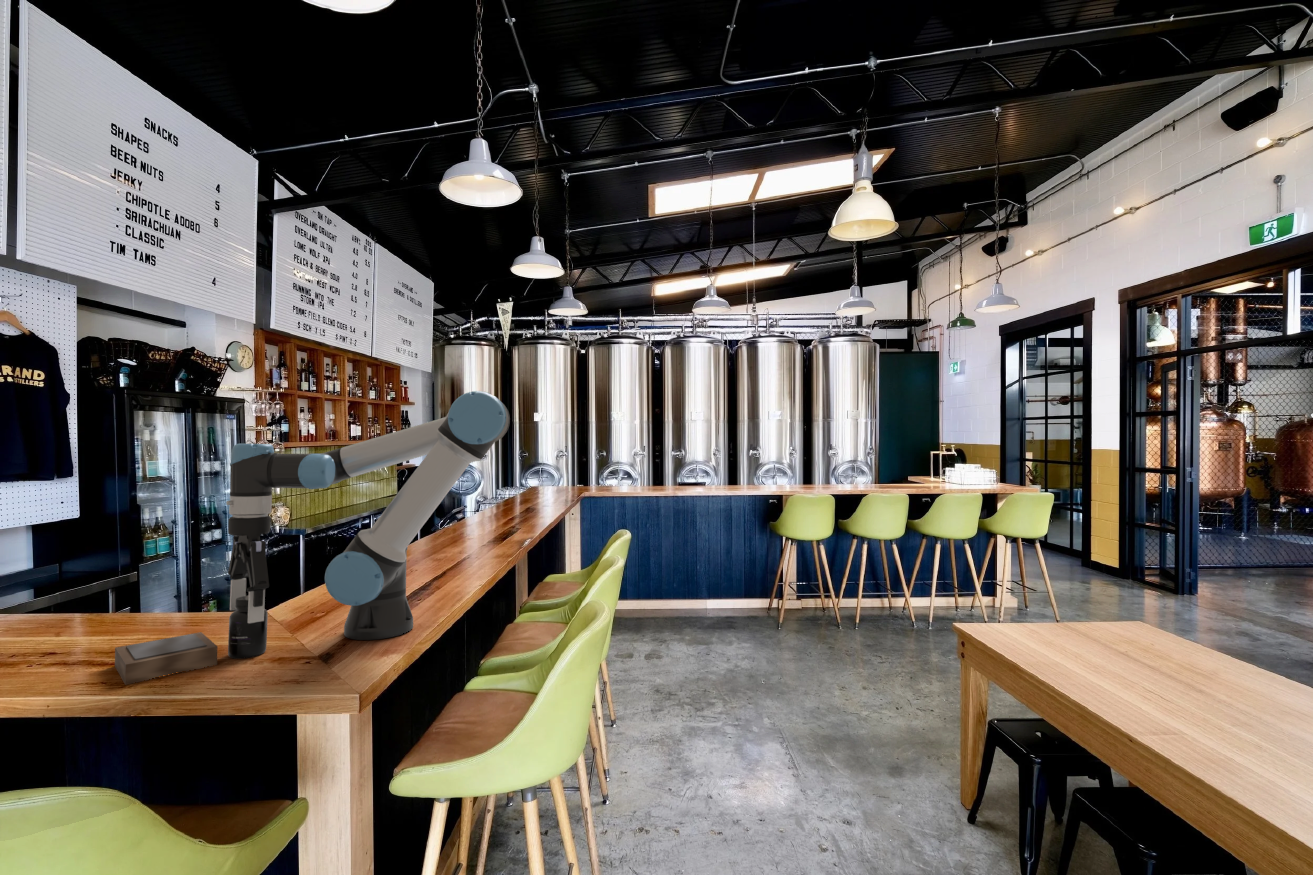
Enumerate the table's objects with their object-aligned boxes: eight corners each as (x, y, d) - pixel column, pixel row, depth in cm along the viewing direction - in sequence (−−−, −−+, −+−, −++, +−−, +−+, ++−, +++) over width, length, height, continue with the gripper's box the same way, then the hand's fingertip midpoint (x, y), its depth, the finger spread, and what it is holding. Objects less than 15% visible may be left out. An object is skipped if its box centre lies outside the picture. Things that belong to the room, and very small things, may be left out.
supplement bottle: (230, 662, 123) (231, 603, 123) (226, 653, 128) (227, 597, 128) (269, 654, 127) (270, 598, 128) (264, 646, 132) (265, 592, 133)
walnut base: (200, 649, 130) (201, 630, 131) (217, 664, 121) (217, 644, 121) (114, 666, 120) (115, 646, 120) (125, 684, 111) (125, 662, 111)
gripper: (214, 511, 134) (210, 607, 133) (246, 522, 117) (241, 631, 117) (253, 509, 139) (249, 601, 139) (289, 519, 123) (285, 623, 122)
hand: (246, 615), depth 128 cm, fingers open, 13 cm apart
